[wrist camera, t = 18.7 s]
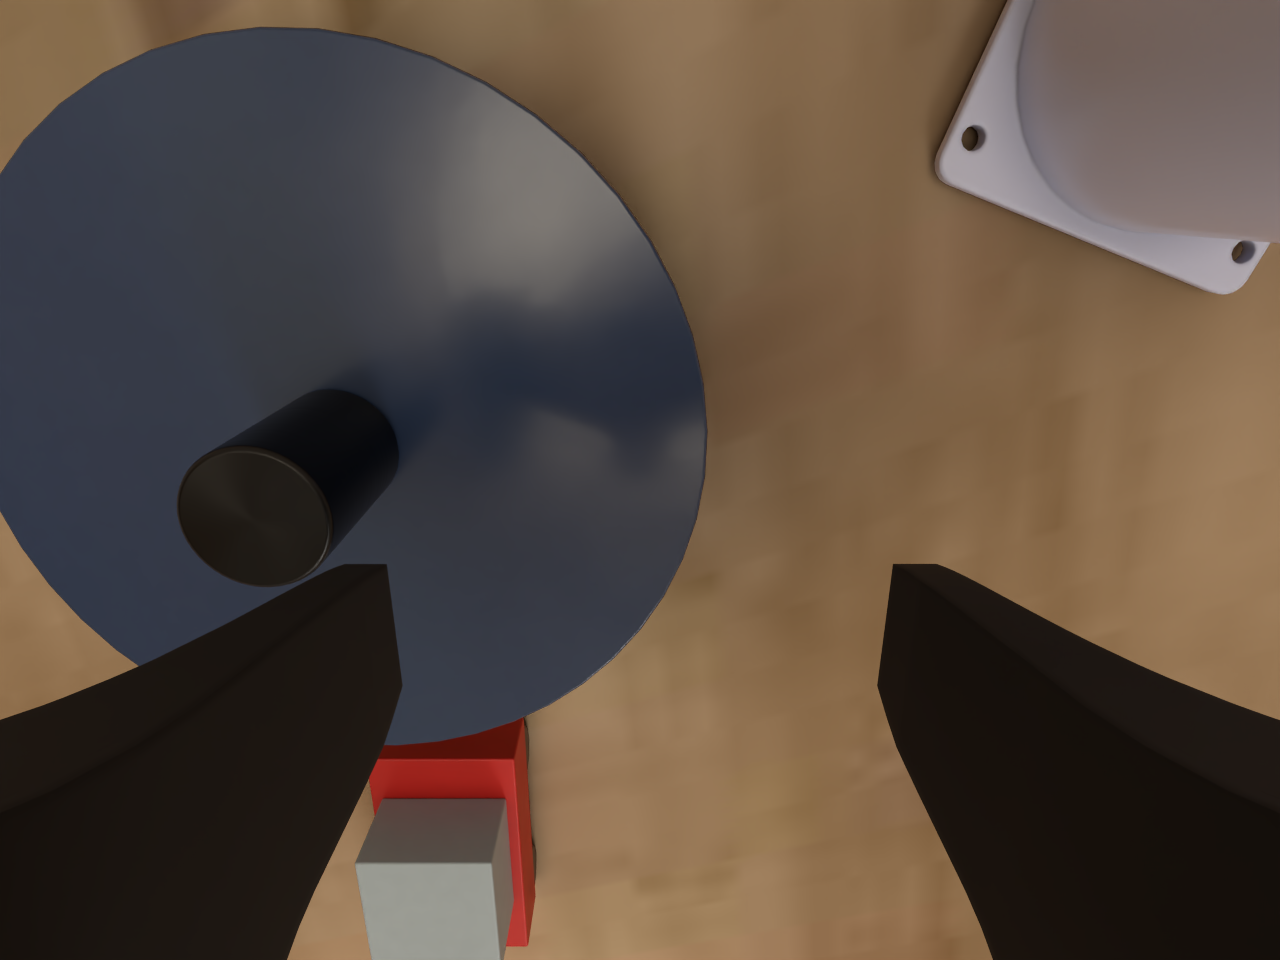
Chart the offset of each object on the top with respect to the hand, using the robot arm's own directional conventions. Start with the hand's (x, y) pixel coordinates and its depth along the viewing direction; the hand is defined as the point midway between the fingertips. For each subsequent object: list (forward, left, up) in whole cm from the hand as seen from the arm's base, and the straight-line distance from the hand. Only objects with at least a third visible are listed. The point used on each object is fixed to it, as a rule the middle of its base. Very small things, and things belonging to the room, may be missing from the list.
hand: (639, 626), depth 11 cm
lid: (+1, -6, -5) cm, 8 cm away
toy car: (+13, -1, -9) cm, 16 cm away
